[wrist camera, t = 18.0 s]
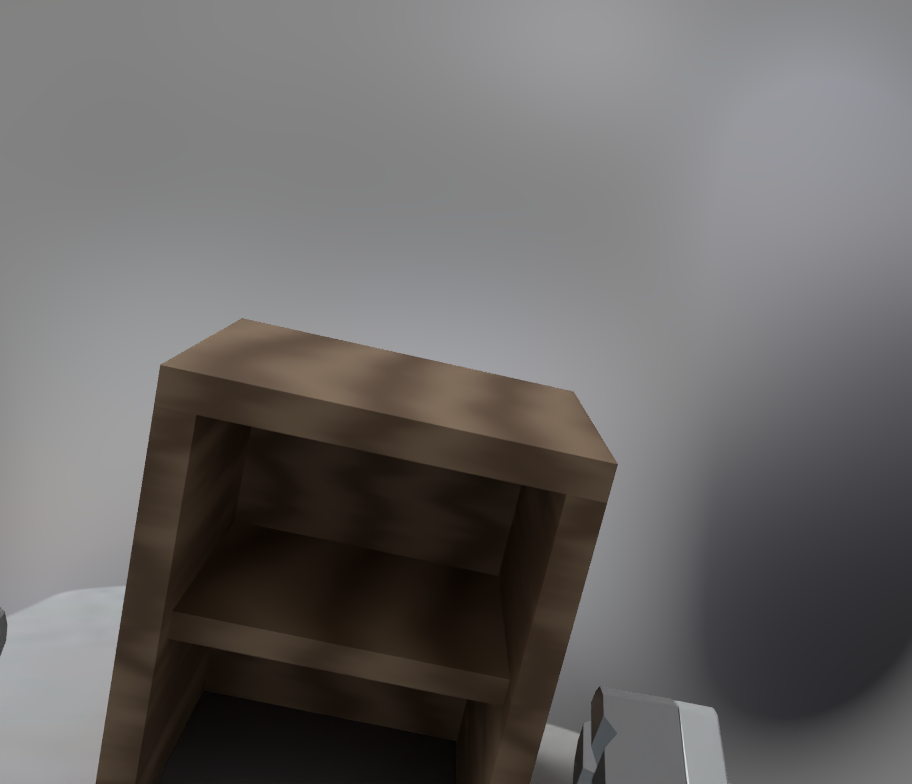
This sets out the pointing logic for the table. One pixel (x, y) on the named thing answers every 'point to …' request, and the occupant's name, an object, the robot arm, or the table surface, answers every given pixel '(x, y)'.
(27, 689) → the table surface
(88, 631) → the table surface
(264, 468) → the brown wooden box
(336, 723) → the table surface
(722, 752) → the robot arm
